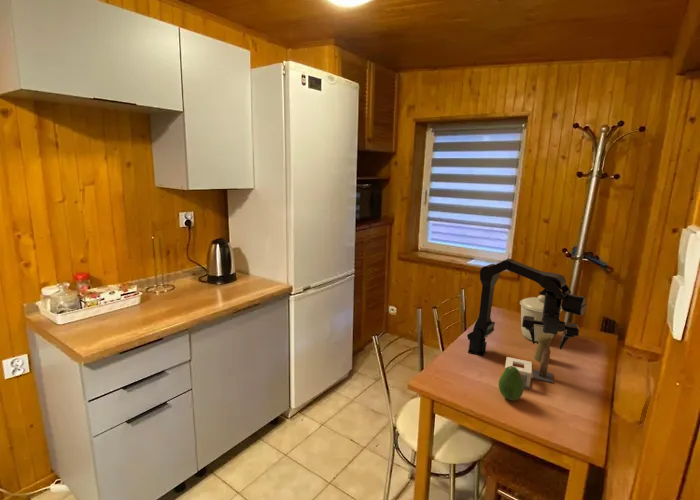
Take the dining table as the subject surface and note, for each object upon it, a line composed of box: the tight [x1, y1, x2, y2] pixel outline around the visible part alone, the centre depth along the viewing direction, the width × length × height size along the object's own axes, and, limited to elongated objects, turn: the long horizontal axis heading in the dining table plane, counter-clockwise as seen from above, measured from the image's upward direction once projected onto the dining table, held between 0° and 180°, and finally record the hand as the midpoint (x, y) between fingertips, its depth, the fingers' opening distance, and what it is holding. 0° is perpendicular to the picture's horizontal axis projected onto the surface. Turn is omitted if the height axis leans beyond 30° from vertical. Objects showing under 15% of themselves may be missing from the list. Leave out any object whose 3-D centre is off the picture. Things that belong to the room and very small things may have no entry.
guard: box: [504, 356, 533, 390], centre depth 148 cm, size 9×9×6 cm
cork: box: [533, 334, 553, 363], centre depth 163 cm, size 6×6×11 cm
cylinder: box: [538, 348, 551, 377], centre depth 149 cm, size 3×3×11 cm
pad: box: [532, 368, 554, 384], centre depth 151 cm, size 7×7×1 cm
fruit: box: [498, 365, 525, 401], centre depth 136 cm, size 8×8×12 cm
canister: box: [519, 294, 563, 343], centre depth 182 cm, size 18×18×21 cm
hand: (546, 346), depth 148 cm, fingers open, 9 cm apart
